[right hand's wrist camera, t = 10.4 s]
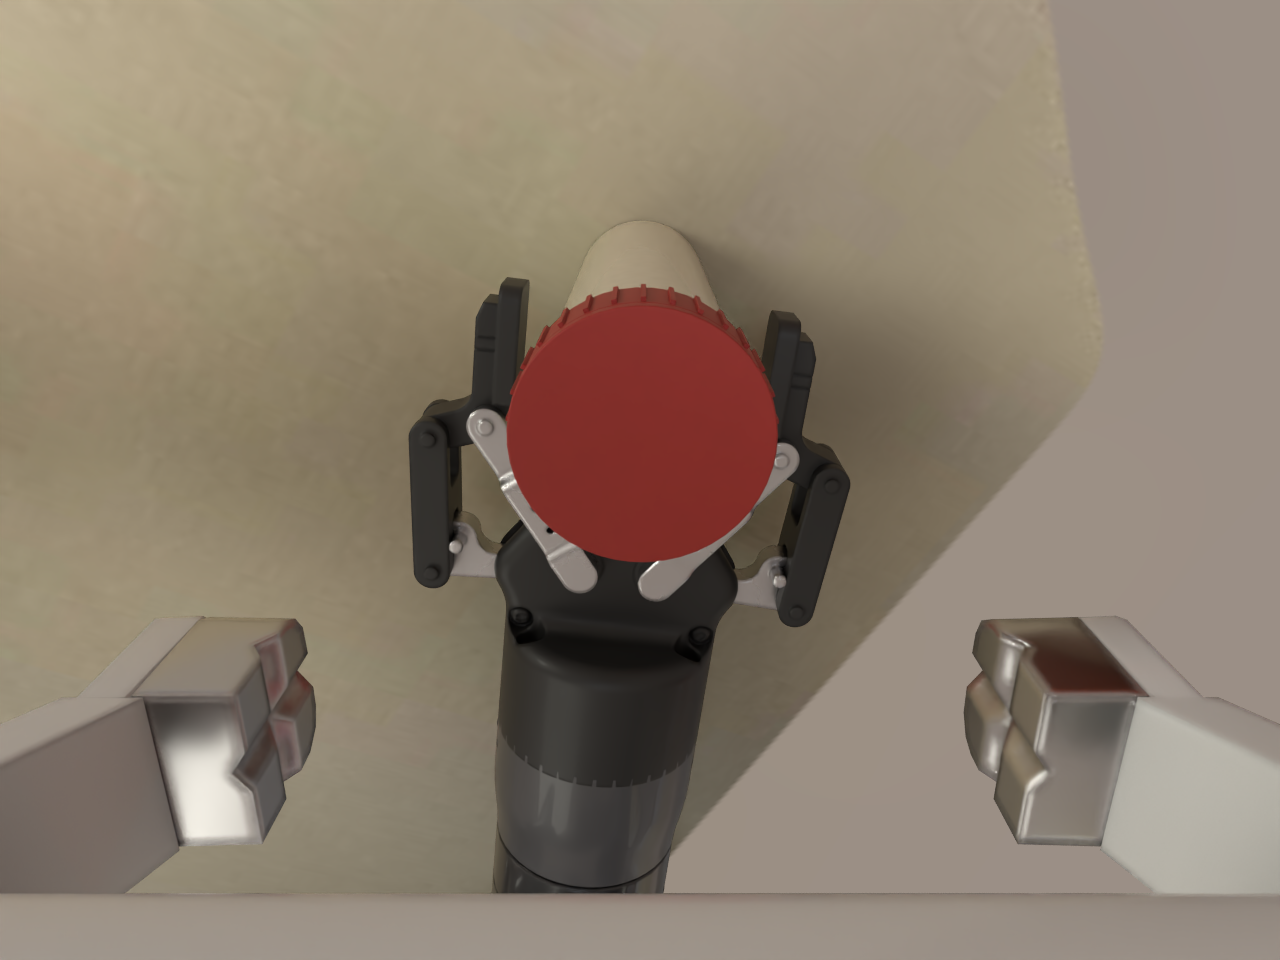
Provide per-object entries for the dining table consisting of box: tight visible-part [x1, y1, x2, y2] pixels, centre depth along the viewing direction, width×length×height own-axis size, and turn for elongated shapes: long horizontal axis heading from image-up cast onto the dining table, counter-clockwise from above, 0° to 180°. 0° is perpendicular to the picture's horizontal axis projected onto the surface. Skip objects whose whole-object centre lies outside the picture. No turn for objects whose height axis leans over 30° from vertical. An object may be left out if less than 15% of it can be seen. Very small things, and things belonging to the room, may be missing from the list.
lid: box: [506, 284, 779, 562], centre depth 19 cm, size 5×6×2 cm
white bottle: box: [564, 221, 720, 311], centre depth 26 cm, size 5×5×18 cm
